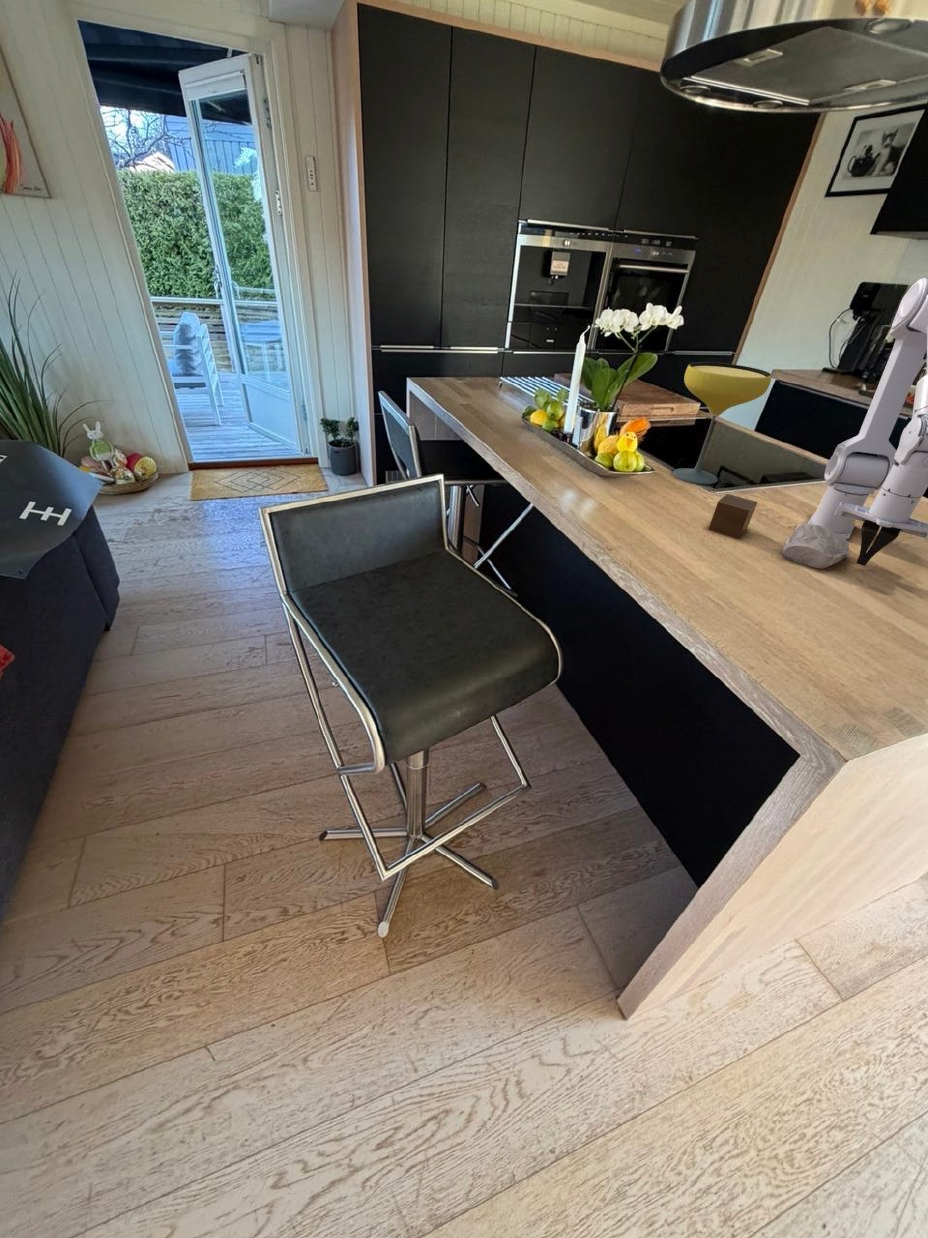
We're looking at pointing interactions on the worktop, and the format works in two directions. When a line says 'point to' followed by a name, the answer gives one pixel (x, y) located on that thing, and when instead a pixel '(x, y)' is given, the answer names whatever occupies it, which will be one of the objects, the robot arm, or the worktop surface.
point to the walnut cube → (732, 515)
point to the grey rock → (815, 546)
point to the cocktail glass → (720, 399)
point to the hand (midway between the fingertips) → (861, 562)
